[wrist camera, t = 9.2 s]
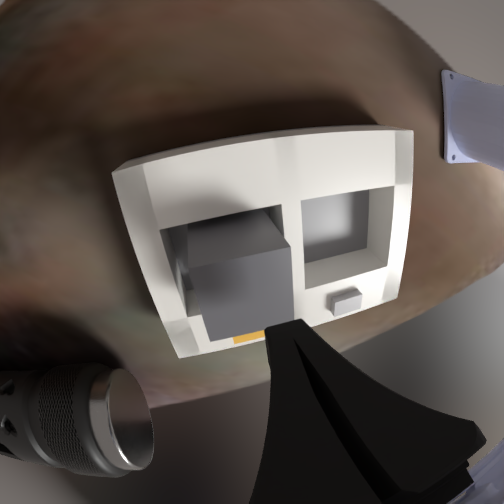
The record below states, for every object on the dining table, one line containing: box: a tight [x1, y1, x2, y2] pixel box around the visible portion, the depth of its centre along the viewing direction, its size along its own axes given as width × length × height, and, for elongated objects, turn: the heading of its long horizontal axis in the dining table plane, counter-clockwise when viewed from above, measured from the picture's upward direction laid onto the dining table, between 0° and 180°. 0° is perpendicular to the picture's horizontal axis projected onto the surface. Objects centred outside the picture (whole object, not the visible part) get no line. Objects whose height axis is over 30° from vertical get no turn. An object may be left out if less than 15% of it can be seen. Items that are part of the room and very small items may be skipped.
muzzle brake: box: [0, 362, 154, 477], centre depth 15 cm, size 10×28×10 cm, turn 98°
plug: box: [187, 208, 294, 342], centre depth 14 cm, size 4×4×6 cm
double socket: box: [112, 124, 413, 358], centre depth 16 cm, size 16×12×4 cm
